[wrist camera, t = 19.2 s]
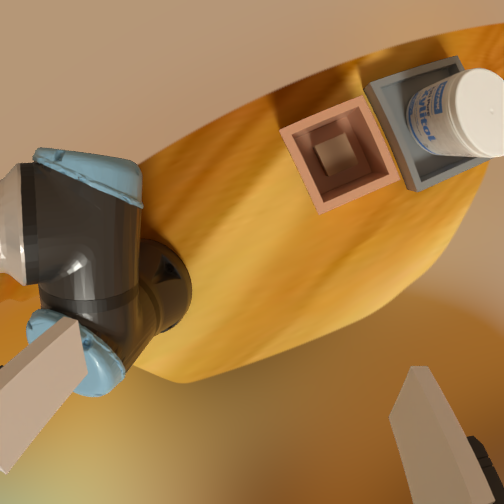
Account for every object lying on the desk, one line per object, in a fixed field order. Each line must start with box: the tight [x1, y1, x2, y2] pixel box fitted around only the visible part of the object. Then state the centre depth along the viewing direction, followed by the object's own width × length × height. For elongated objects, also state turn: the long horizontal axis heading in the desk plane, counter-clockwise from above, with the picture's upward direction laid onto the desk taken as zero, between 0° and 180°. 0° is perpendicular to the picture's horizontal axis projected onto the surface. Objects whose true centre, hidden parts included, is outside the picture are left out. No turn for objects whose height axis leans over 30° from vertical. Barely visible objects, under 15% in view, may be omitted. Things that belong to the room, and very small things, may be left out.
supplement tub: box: [406, 68, 504, 158], centre depth 29 cm, size 10×10×15 cm
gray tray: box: [363, 56, 494, 192], centre depth 35 cm, size 15×15×4 cm
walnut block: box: [313, 133, 359, 177], centre depth 37 cm, size 4×4×4 cm
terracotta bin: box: [279, 95, 400, 215], centre depth 36 cm, size 10×10×9 cm
